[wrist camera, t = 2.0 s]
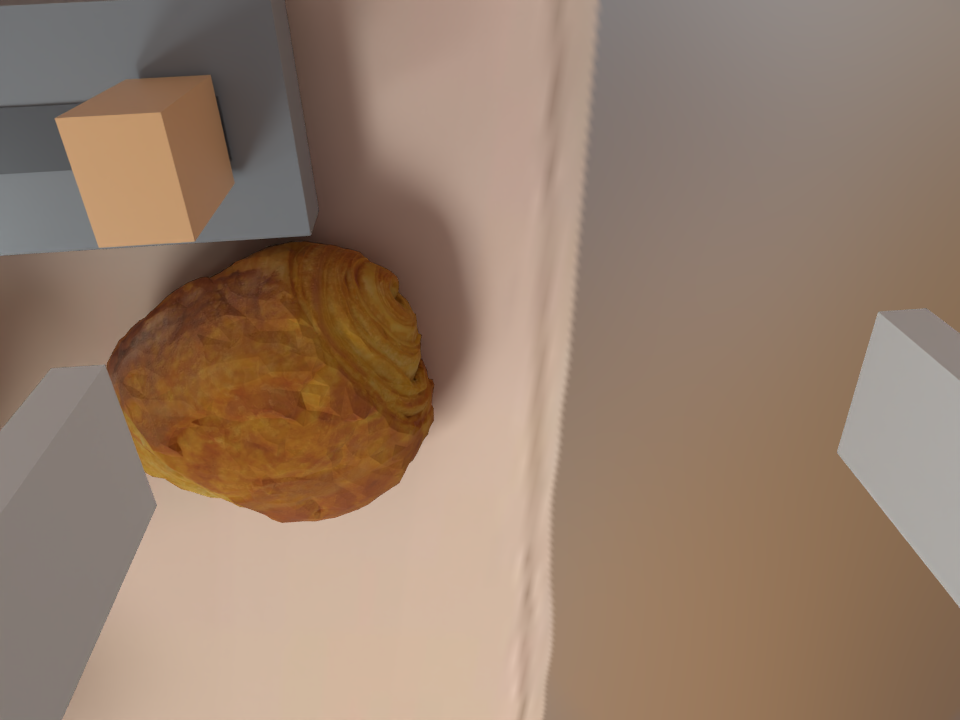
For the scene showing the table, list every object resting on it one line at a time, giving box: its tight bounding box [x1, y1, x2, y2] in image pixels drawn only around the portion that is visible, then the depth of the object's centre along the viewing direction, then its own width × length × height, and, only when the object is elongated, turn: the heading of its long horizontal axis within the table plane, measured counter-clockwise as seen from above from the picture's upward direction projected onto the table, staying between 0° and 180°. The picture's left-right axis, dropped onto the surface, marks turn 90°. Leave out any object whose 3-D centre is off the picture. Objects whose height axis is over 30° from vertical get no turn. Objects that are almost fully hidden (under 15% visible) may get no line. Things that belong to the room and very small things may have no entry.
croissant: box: [107, 241, 434, 523], centre depth 34 cm, size 14×16×8 cm
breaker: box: [55, 75, 235, 248], centre depth 24 cm, size 3×4×6 cm
